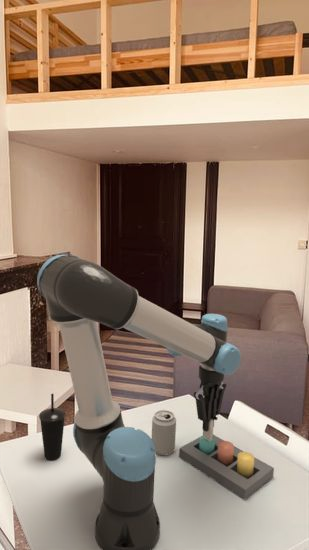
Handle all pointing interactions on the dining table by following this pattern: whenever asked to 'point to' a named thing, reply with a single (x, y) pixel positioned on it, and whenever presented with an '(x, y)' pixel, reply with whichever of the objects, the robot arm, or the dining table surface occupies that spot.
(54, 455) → the drinking cup
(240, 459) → the yellow plastic cylinder
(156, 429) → the can
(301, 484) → the dining table surface
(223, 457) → the coral button
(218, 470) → the tray
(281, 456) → the dining table surface
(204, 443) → the teal cylinder
